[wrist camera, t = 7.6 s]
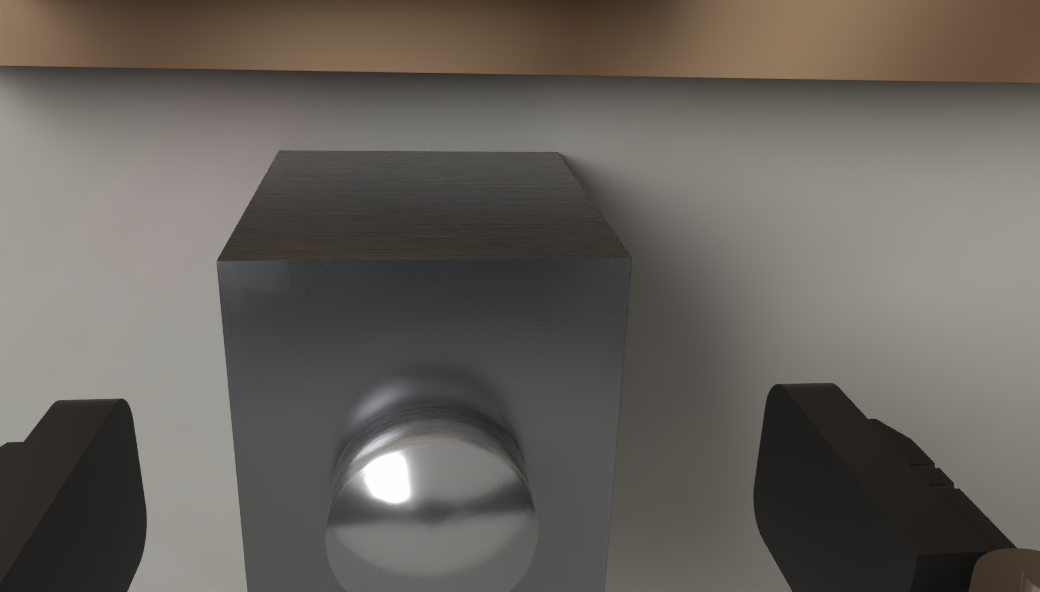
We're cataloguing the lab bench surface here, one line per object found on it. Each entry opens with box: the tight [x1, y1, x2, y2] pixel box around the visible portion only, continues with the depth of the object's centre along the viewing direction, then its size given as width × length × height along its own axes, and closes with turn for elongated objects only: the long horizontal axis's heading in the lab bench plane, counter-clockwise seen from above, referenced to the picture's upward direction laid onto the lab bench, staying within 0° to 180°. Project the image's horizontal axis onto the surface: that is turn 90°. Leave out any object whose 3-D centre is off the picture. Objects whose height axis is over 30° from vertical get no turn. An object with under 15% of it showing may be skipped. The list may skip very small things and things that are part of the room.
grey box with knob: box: [217, 151, 632, 592], centre depth 13 cm, size 5×6×6 cm
